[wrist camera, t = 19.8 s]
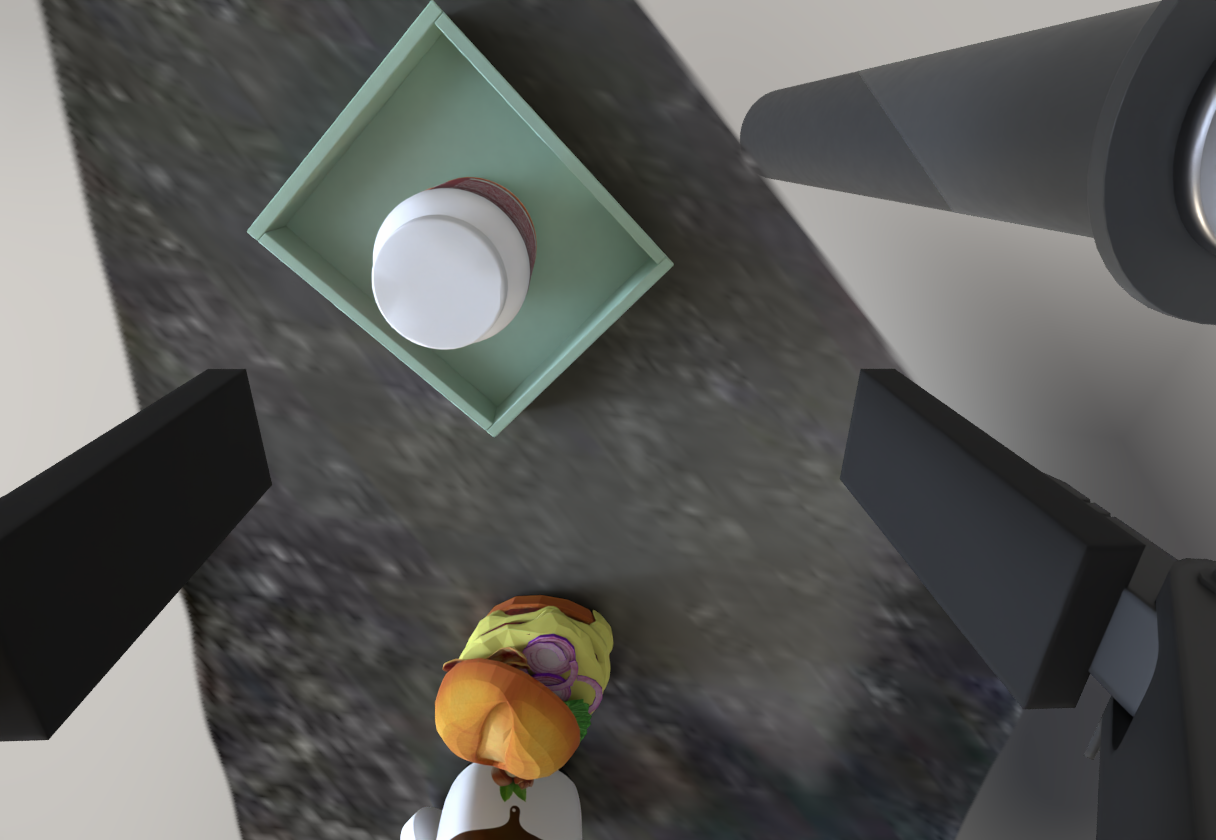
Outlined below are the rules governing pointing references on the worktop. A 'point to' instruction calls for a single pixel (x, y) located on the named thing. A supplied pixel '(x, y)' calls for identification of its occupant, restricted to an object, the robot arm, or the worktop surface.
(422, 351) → the tray
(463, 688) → the cheeseburger
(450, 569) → the worktop surface
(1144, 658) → the robot arm
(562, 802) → the spread jar
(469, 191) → the pill bottle
